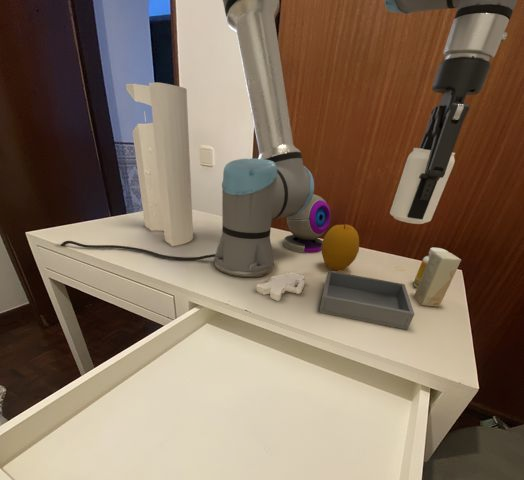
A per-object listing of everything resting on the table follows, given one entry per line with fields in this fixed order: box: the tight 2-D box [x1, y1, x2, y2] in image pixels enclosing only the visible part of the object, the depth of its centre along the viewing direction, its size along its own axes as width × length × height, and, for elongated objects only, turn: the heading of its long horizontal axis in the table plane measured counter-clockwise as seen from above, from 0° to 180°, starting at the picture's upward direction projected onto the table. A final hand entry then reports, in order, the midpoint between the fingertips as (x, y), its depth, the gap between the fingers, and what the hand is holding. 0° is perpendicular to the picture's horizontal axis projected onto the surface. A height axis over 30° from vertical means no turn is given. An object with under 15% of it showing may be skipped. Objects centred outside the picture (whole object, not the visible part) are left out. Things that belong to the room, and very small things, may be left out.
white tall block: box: [125, 81, 194, 247], centre depth 84 cm, size 35×11×21 cm
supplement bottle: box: [412, 247, 449, 289], centre depth 75 cm, size 5×5×10 cm
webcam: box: [283, 193, 331, 254], centre depth 92 cm, size 13×13×15 cm
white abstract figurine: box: [256, 271, 306, 302], centre depth 69 cm, size 9×12×2 cm
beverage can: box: [389, 147, 456, 225], centre depth 59 cm, size 8×8×12 cm
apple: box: [320, 223, 360, 272], centre depth 80 cm, size 10×10×12 cm
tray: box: [318, 270, 415, 330], centre depth 65 cm, size 18×15×4 cm
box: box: [413, 251, 462, 308], centre depth 68 cm, size 5×4×11 cm
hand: (410, 213), depth 61 cm, fingers closed on beverage can, 8 cm apart
